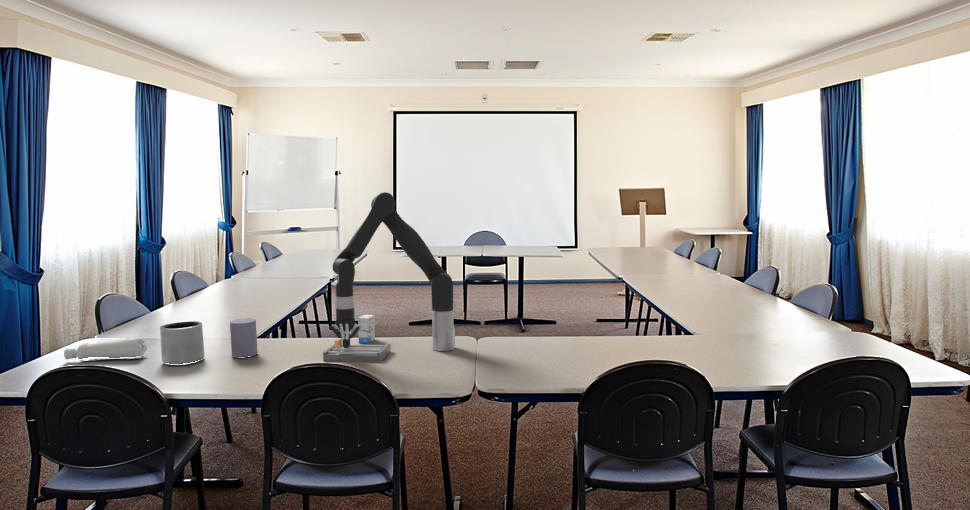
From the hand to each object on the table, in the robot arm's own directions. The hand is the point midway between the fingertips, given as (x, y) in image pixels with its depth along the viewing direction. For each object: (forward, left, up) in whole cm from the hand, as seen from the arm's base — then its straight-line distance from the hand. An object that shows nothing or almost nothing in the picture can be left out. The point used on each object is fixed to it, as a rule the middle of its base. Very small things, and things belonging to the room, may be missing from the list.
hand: (346, 347), depth 266 cm
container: (+45, -2, -5) cm, 46 cm away
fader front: (+3, 0, -2) cm, 4 cm away
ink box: (0, -30, -5) cm, 30 cm away
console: (-4, -4, -4) cm, 7 cm away
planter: (+66, +9, -5) cm, 67 cm away
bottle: (+101, +9, -5) cm, 102 cm away
